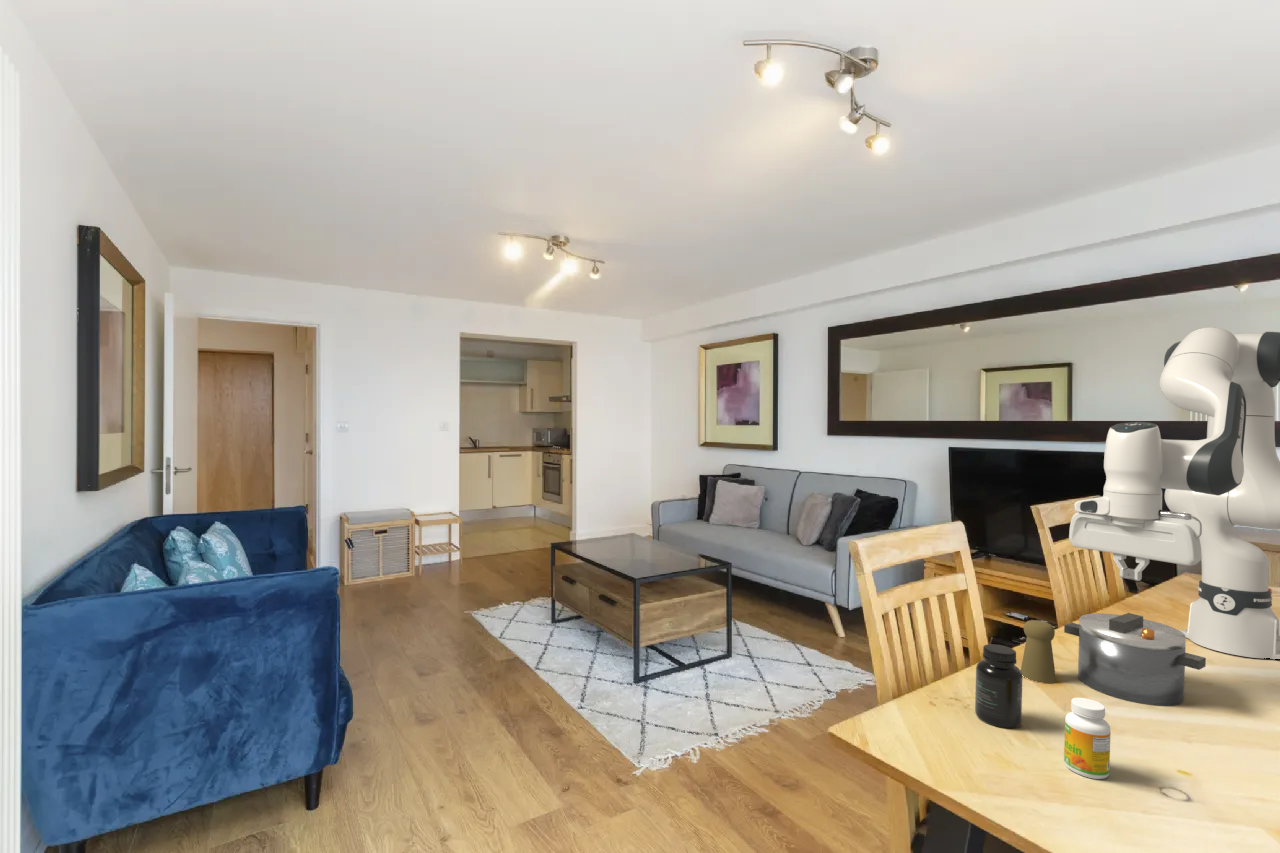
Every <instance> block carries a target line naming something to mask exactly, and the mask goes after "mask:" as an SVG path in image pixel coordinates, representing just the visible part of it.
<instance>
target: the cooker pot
mask: <svg viewBox="0 0 1280 853" xmlns="http://www.w3.org/2000/svg"><path fill="white" fill-rule="evenodd" d="M1063 626H1064V627H1063V631H1064V632H1063V633H1065V634H1068V635H1072V636H1076V637H1078V666H1077V667H1078V668H1077V678H1078V680H1079V681H1080V682H1081V683H1083V684H1084V685H1085V686H1087V687H1088V688H1090V689H1093V690H1095V691H1096V692H1099V693H1101V694H1105V695H1108V696H1111V697H1112V698H1117V699H1120V700H1124V701H1127V702H1131V703H1137V704H1143V705H1149V706H1162V707H1163V706H1164V707H1171V706H1178V705H1180V704H1182V703H1184V700H1185V676H1186V674H1185V673H1186V672H1185V670H1186V668H1191V669H1194V670H1197V671H1199V670H1202V669H1203V668H1206V664H1207V663H1206V662H1207V661H1206V657H1205V656H1200V655H1197V654H1193V653H1188V652H1186V646H1185V647H1184V648H1181V649H1177V650H1153V649H1144V648H1138V647H1132V646H1127V645H1122V644H1117V643H1114V642H1110V641H1106V640H1103V639H1100V638H1097V637H1095V636H1092V635H1090V634H1088V633H1086V632H1084V631H1083V630H1082V629H1081V628H1080V626H1079V624H1078V623H1076V622H1069V623H1065V624H1064V625H1063ZM1185 667H1186V668H1185Z"/></svg>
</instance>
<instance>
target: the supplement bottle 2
mask: <svg viewBox="0 0 1280 853" xmlns="http://www.w3.org/2000/svg"><path fill="white" fill-rule="evenodd" d="M1070 703H1071V704H1070V709H1071V712H1068V713H1067V714H1066V715H1065V718H1064V747H1063V748H1064V749H1063V751H1064V752H1063V763H1064V765H1065V767H1067V769H1068V770H1070V771H1071V772H1073V773H1075V774H1077V775H1079V776H1083V777H1085V778H1088V779H1093V780H1103V779H1106V778H1108V777H1109V775H1110V765H1111V764H1110V762H1111V758H1110V757H1111V756H1110V755H1111V726H1110V724H1109V723H1108V721H1106V720H1105V717H1106V707H1105V705H1103V704H1102V703H1101V702H1099V701H1097V700H1095V699H1090V698H1085V697H1073V698H1071V702H1070Z"/></svg>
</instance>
